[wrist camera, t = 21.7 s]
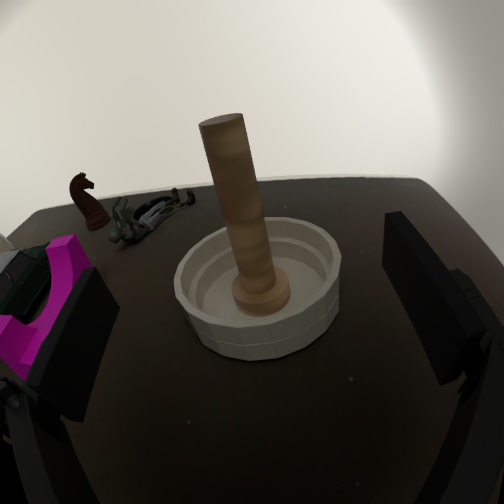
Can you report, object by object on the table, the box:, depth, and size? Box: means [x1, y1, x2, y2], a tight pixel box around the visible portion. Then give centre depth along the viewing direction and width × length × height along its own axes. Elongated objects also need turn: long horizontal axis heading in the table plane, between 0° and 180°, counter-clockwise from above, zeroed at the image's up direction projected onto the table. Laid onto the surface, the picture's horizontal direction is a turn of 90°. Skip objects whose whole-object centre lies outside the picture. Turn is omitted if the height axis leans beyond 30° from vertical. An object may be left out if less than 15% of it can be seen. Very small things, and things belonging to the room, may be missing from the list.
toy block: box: [0, 234, 93, 381], centre depth 25 cm, size 15×6×8 cm, turn 176°
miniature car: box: [0, 242, 51, 325], centre depth 30 cm, size 9×18×8 cm, turn 0°
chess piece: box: [69, 172, 110, 230], centre depth 46 cm, size 5×5×10 cm
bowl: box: [174, 217, 342, 361], centre depth 25 cm, size 13×13×4 cm
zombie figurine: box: [108, 188, 195, 244], centre depth 41 cm, size 5×7×15 cm
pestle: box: [199, 113, 291, 317], centre depth 21 cm, size 5×5×15 cm
